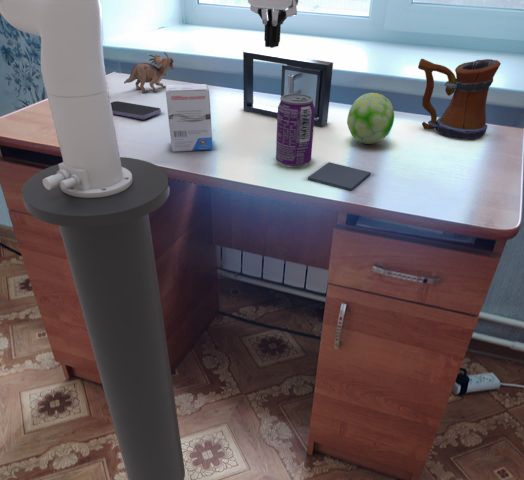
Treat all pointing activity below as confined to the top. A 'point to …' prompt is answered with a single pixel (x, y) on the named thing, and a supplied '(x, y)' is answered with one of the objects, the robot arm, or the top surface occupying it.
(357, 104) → the decorative ball
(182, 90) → the ink box
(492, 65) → the mug
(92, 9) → the robot arm
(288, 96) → the beverage can
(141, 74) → the dinosaur figurine
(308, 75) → the sash
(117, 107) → the smartphone
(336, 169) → the coaster
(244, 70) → the window frame
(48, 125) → the top surface
